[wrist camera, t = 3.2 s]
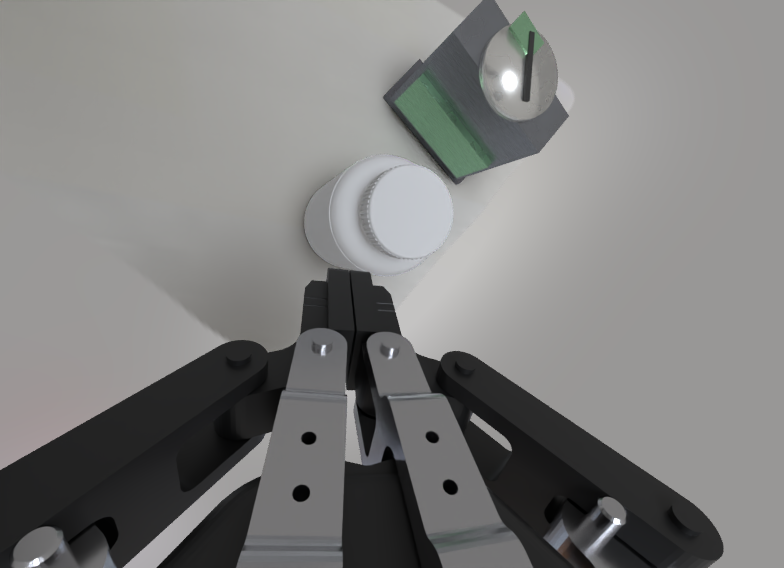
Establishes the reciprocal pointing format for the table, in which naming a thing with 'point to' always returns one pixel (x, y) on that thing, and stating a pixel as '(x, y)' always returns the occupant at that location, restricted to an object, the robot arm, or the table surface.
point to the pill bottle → (379, 216)
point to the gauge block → (482, 94)
